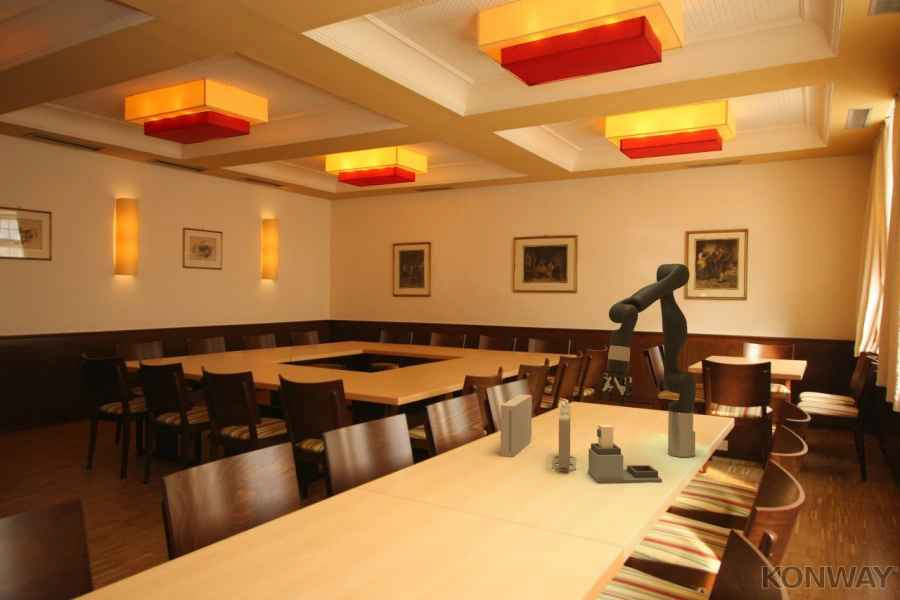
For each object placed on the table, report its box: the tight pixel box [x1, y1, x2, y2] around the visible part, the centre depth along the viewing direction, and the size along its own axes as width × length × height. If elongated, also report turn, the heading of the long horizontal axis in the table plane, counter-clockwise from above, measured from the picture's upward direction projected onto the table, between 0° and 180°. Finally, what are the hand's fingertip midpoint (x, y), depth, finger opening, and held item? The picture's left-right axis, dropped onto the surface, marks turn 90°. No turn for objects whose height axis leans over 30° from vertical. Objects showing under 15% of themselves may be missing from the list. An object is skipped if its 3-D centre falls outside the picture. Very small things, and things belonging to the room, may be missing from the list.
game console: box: [500, 393, 533, 458], centre depth 254 cm, size 6×27×20 cm, turn 158°
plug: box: [596, 424, 614, 448], centre depth 214 cm, size 5×4×9 cm
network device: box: [550, 404, 577, 472], centre depth 232 cm, size 26×9×20 cm, turn 168°
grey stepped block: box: [587, 442, 663, 484], centre depth 215 cm, size 22×12×11 cm, turn 94°
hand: (614, 403), depth 224 cm, fingers open, 8 cm apart
